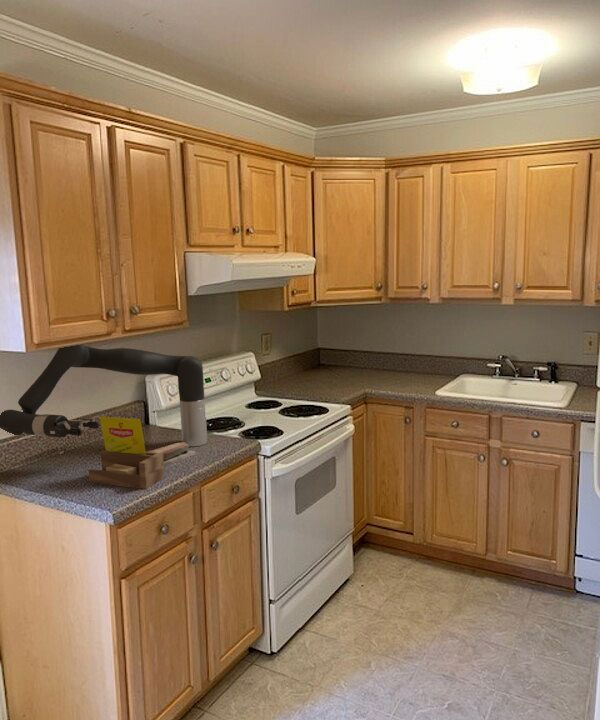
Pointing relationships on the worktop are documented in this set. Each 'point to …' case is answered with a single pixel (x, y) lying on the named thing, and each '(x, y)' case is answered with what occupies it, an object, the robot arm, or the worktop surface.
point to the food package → (123, 435)
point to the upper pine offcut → (121, 468)
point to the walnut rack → (146, 466)
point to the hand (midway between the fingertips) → (90, 428)
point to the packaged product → (174, 452)
